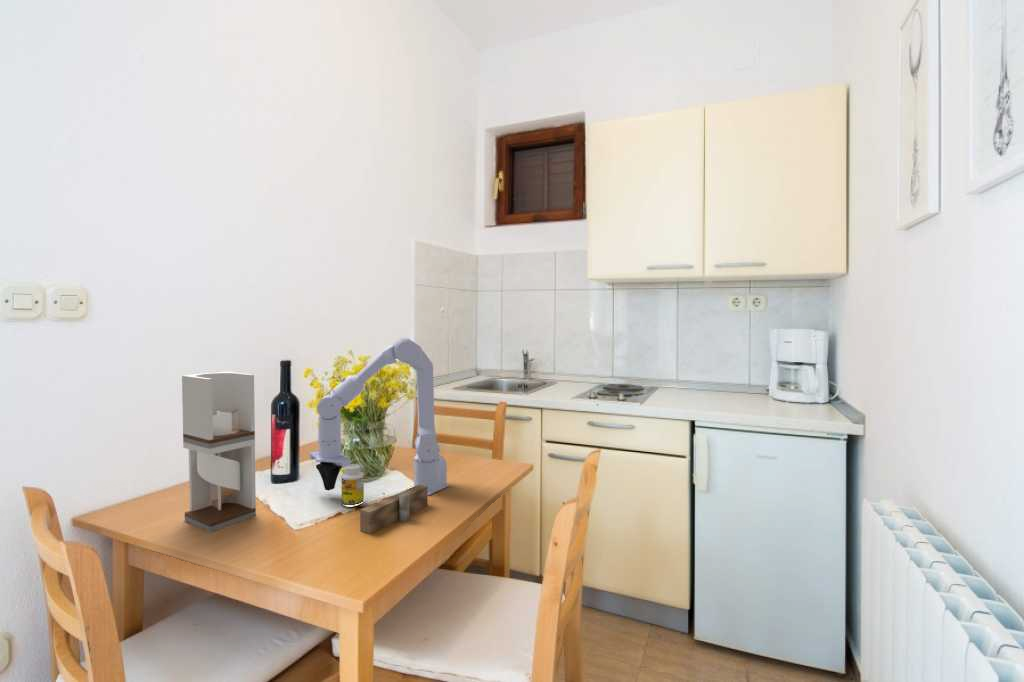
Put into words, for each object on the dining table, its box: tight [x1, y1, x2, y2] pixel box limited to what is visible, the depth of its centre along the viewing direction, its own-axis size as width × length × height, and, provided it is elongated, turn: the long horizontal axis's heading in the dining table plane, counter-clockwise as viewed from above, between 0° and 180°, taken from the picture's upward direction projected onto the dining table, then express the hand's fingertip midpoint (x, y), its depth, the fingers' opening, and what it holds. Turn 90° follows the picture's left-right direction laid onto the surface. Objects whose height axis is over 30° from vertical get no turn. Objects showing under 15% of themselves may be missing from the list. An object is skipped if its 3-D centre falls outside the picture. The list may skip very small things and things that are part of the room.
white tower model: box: [181, 371, 257, 533], centre depth 115 cm, size 11×11×35 cm
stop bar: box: [359, 484, 429, 535], centre depth 117 cm, size 20×5×6 cm, turn 149°
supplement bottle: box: [341, 463, 365, 505], centre depth 125 cm, size 6×6×10 cm
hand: (329, 489), depth 130 cm, fingers closed
